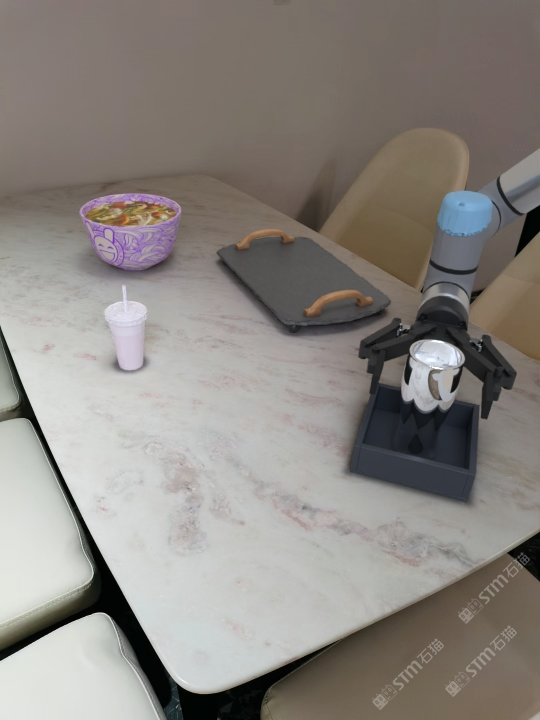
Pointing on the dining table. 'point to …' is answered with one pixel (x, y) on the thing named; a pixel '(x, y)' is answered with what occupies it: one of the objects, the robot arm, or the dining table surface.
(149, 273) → the dining table surface
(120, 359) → the smoothie
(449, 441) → the slate grey square tray
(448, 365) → the beer glass
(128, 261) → the bowl of food
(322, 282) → the serving tray
